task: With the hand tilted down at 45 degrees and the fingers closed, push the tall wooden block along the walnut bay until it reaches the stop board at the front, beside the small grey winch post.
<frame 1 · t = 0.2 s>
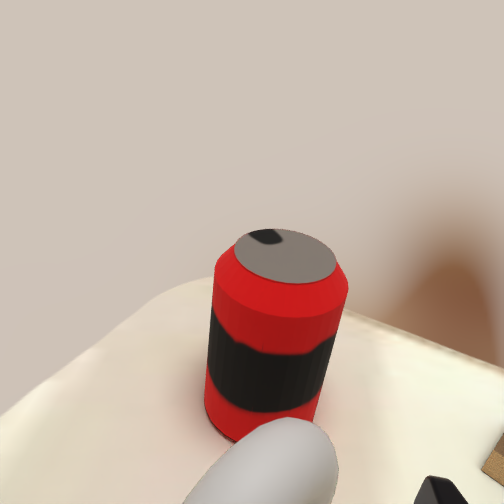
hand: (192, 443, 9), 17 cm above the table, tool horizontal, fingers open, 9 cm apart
soda can: (258, 404, 31), on the table
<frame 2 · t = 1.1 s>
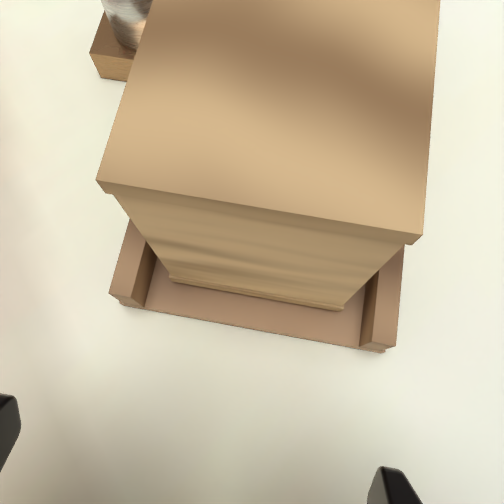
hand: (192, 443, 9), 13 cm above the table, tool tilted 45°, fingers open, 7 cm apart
bay: (268, 226, 24), on the table
tall wooden block: (273, 168, 18), point 6 cm above the table, slide at 0.0 cm
winch post: (152, 49, 27), on the table
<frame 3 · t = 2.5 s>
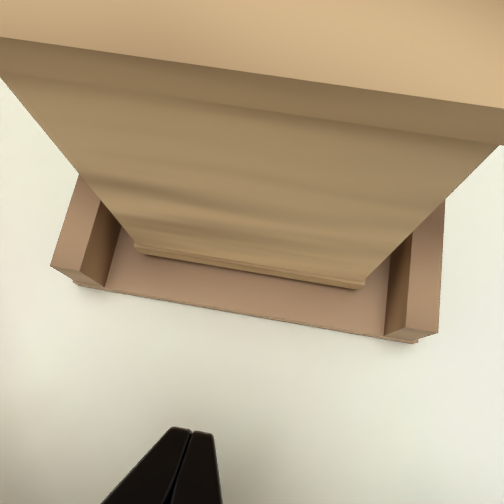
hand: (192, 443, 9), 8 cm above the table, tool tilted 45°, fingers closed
bay: (265, 185, 19), on the table
tall wooden block: (270, 85, 13), point 6 cm above the table, slide at 0.0 cm
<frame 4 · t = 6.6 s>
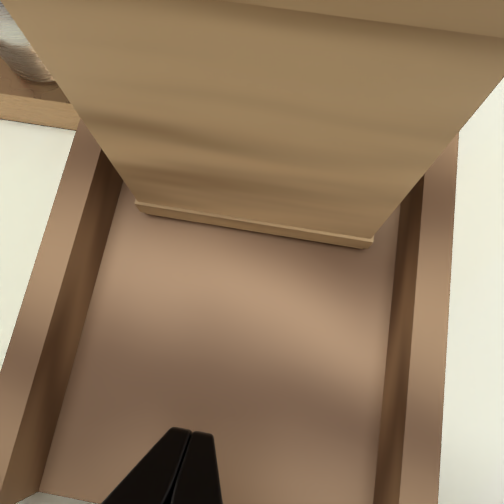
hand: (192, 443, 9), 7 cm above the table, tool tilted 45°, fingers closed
bay: (232, 347, 16), on the table
tall wooden block: (276, 25, 12), point 6 cm above the table, slide at 8.2 cm
winch post: (70, 75, 19), on the table
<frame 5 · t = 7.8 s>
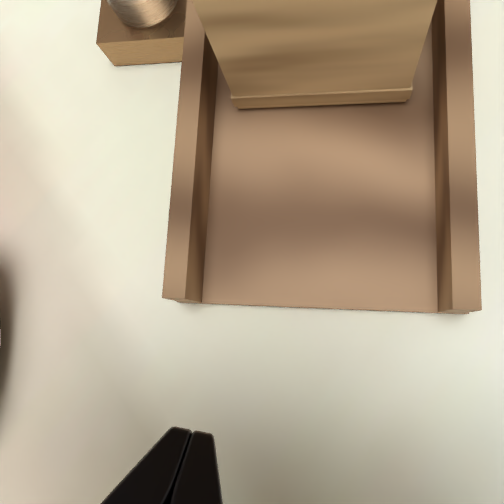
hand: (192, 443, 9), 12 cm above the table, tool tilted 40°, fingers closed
bay: (317, 193, 22), on the table
winch post: (160, 22, 25), on the table
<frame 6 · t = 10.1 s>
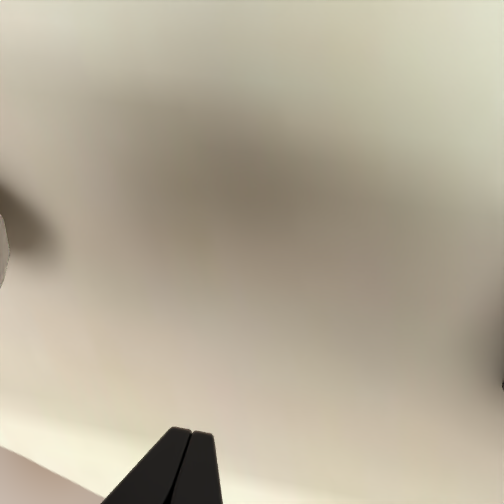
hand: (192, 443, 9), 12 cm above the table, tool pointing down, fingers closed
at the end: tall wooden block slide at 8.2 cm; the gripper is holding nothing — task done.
